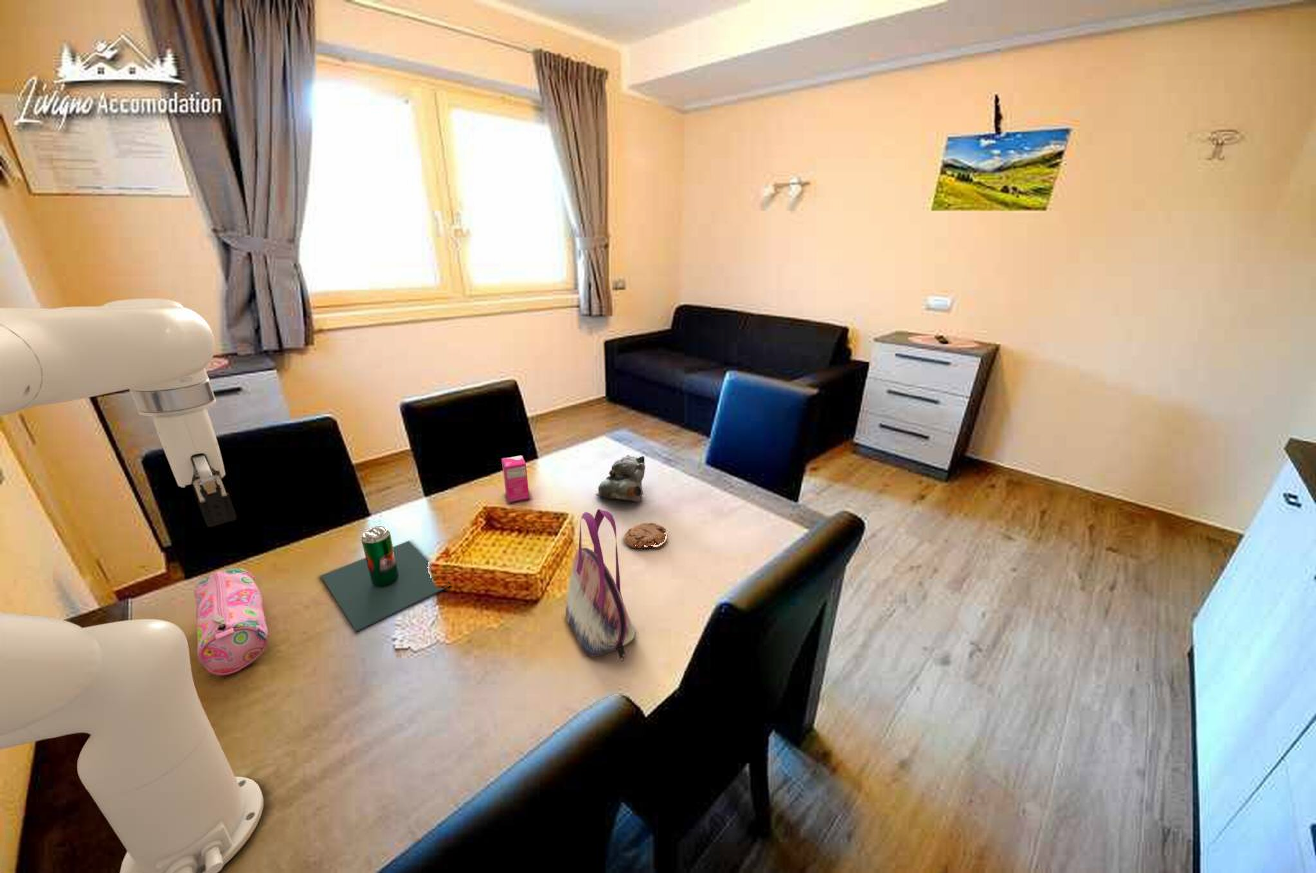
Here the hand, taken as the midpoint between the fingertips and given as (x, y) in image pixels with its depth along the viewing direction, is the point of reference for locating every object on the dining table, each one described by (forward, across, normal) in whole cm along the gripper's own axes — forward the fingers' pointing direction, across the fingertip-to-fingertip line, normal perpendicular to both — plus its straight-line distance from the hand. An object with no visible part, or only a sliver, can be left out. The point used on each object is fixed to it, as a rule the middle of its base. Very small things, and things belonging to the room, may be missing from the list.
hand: (216, 509), depth 70 cm
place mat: (+30, -9, +21) cm, 38 cm away
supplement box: (+31, -21, +60) cm, 71 cm away
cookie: (+31, +19, +71) cm, 80 cm away
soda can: (+30, -9, +21) cm, 38 cm away
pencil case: (+31, -12, -3) cm, 33 cm away
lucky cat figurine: (+31, -1, +81) cm, 87 cm away
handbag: (+31, +33, +44) cm, 63 cm away
